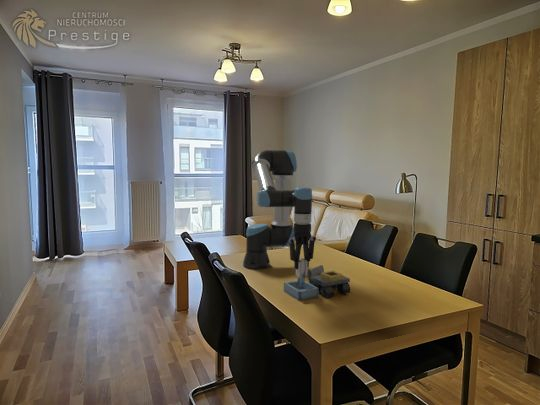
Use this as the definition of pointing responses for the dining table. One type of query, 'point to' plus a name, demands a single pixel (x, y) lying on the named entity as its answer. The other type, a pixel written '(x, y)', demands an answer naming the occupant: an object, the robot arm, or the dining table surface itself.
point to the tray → (301, 290)
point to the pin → (302, 273)
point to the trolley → (331, 283)
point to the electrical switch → (315, 272)
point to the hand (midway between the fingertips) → (301, 275)
